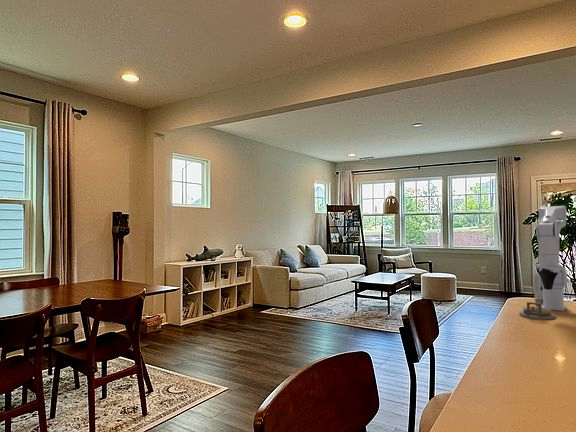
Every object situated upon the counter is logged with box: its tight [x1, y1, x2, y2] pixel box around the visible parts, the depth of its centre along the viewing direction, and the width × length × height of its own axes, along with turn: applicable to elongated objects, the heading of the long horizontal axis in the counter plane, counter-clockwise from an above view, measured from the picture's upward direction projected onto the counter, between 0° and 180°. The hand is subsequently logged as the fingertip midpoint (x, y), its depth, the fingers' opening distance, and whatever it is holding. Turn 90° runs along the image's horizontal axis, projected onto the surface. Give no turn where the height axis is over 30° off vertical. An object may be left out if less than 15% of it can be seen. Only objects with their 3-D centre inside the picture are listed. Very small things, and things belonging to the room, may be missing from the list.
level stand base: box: [518, 301, 557, 321], centre depth 158 cm, size 12×12×6 cm
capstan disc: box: [522, 298, 552, 315], centre depth 158 cm, size 9×9×5 cm
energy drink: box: [533, 273, 543, 303], centre depth 188 cm, size 5×5×12 cm
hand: (548, 289), depth 158 cm, fingers closed
